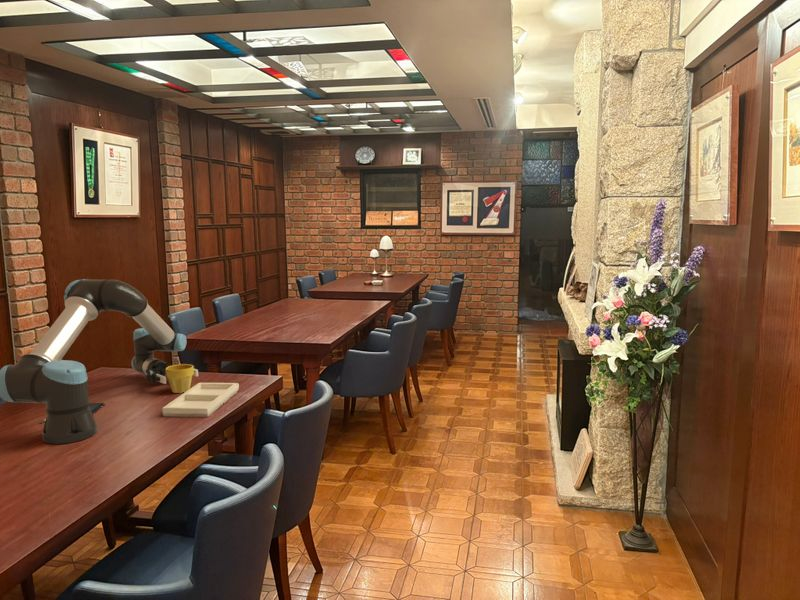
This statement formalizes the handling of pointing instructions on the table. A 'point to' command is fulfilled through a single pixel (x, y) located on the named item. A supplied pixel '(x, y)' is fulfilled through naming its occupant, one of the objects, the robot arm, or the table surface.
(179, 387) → the plant pot
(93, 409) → the wallet
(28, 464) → the table surface
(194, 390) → the divided tray
